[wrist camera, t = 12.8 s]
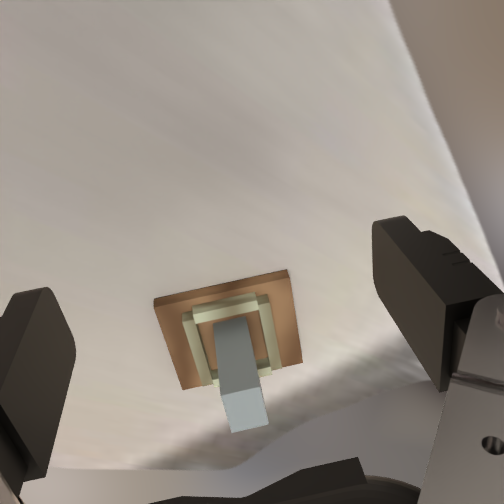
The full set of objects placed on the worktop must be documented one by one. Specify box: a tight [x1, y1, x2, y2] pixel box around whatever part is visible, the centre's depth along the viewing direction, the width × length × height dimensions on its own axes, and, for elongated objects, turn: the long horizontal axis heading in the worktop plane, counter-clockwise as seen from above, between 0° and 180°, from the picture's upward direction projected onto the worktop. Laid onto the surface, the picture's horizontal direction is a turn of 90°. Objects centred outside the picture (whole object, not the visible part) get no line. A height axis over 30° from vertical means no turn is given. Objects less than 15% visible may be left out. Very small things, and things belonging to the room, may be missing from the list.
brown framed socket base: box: [154, 270, 303, 390], centre depth 51 cm, size 14×12×3 cm
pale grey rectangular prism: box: [213, 316, 269, 433], centre depth 47 cm, size 4×5×10 cm
